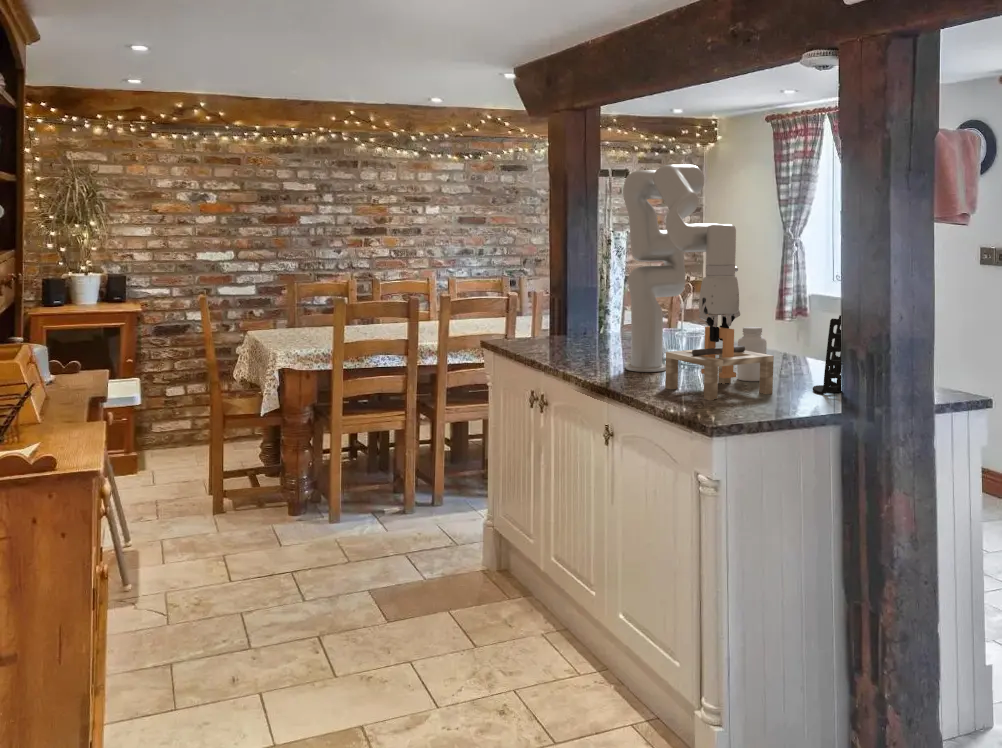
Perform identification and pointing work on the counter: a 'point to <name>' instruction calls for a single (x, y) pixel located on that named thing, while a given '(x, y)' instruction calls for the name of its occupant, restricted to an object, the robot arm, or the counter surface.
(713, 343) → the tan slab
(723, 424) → the counter surface
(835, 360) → the holder
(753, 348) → the pill bottle
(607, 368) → the counter surface
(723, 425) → the counter surface
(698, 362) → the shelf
